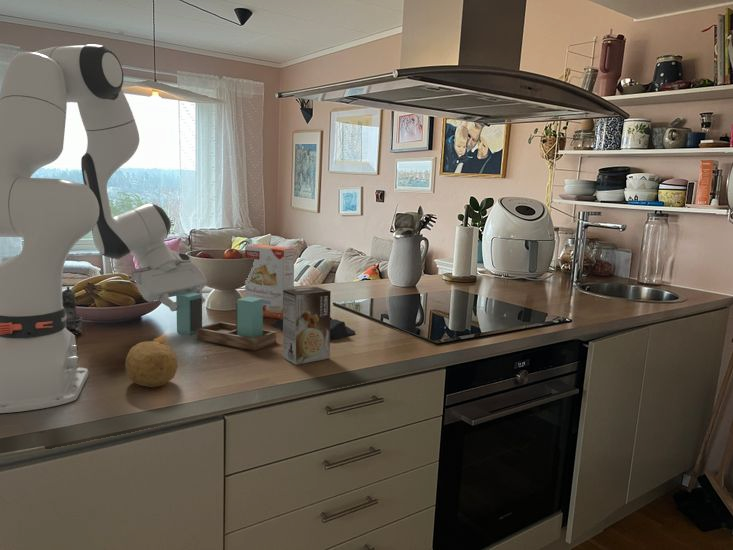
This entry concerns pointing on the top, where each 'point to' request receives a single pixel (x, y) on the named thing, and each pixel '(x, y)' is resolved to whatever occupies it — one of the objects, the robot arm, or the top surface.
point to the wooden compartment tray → (234, 336)
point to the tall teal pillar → (189, 312)
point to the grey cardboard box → (306, 324)
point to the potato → (151, 364)
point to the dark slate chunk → (336, 329)
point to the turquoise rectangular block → (249, 317)
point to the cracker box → (270, 276)
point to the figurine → (71, 311)
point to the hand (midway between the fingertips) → (189, 306)
